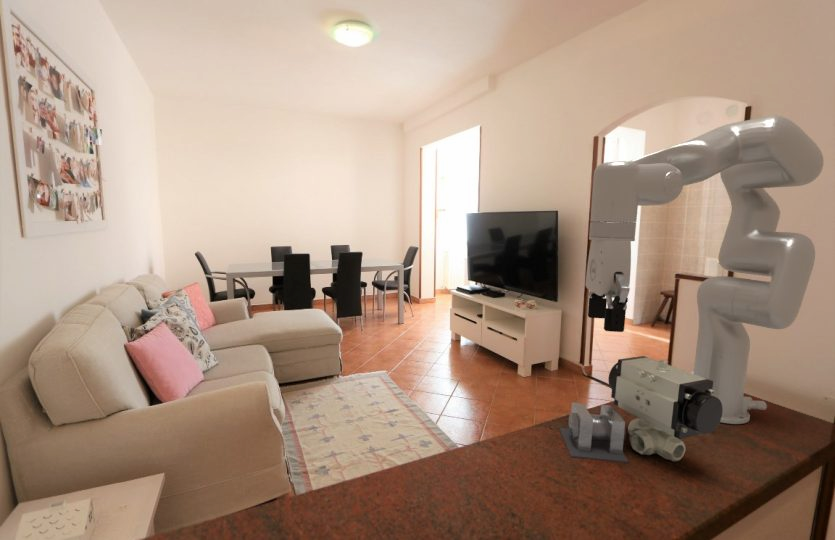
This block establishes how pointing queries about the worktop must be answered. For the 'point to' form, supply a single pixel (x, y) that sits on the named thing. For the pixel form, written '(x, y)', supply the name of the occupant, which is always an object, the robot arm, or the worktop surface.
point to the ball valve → (663, 405)
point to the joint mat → (596, 451)
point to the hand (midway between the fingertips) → (604, 324)
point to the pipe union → (597, 428)
